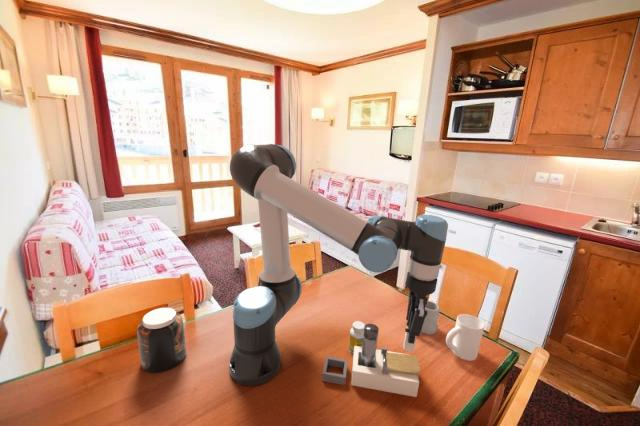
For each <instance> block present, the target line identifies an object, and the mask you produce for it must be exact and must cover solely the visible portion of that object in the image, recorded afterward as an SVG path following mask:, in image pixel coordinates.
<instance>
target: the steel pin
mask: <svg viewBox="0 0 640 426" xmlns="http://www.w3.org/2000/svg"><path fill="white" fill-rule="evenodd" d="M378 337H379V326H378V325H376V324H373V323H366V324H365V326H364V335H363V345H362V354H361V363H360V366H366V367H372V368H374V363H375V355H376V349H377V345H378Z"/></svg>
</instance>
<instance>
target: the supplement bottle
mask: <svg viewBox="0 0 640 426" xmlns="http://www.w3.org/2000/svg"><path fill="white" fill-rule="evenodd" d="M365 325H366V324H365V323H364V322H362V321H360V320H357V321H354V322H352V325H351V326H352V327H351V328H350V330H349V338H348V339H349V340H348V350H349V352H350V353H351V354H352V355H354V346H359V347H362V345H363V335H364V326H365Z"/></svg>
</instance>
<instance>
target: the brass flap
mask: <svg viewBox="0 0 640 426" xmlns="http://www.w3.org/2000/svg"><path fill="white" fill-rule="evenodd" d="M397 353H398V352H396V353H388V352H386V353H385V352H383V366H384V367H389V371H398V372H407V373H416V374H419V375H420V374H421V367H420V363H419V358H418V355H416V354H415V355H414V354H409V355H407V354H408V353H403V354H397Z"/></svg>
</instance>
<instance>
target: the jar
mask: <svg viewBox="0 0 640 426" xmlns="http://www.w3.org/2000/svg"><path fill="white" fill-rule="evenodd" d="M136 333H137V334H136V335H137V343H138V351H139V357H140V364H141V368H142V369H143V370H144V371H145V372H147V373H152V374H158V373H164V372H167V371H170V370H172V369H174V368H175V367H177V366H179V365H180V364H181V363H182V362H183V361H184V360H185V358H186V356H187V347H186V336H185V325H184V319H183V316H182V315H181V314H180V313H179V312H176V309H174V308H173V307H159V308H155V309H153V310H151V311H149V312H147V313H146V314H145V315H144V316H143V317H142V320H141V321H140V322H139V323H138V325H137V329H136Z"/></svg>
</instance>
